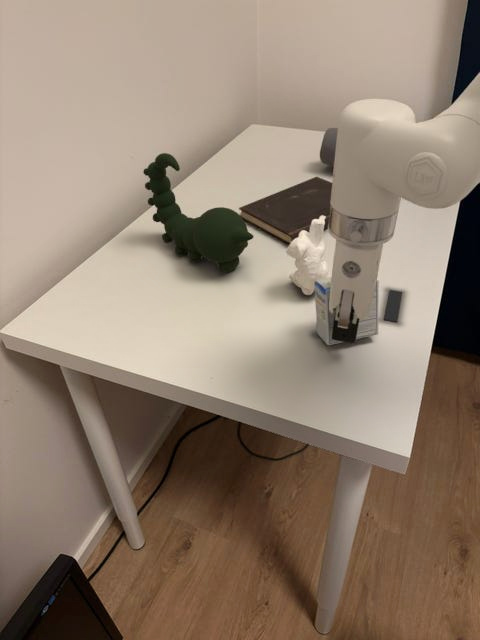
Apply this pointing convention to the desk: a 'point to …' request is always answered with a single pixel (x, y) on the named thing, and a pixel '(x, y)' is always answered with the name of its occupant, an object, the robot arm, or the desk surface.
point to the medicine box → (327, 318)
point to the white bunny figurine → (309, 256)
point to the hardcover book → (290, 209)
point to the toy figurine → (195, 222)
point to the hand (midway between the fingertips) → (343, 337)
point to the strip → (393, 306)
